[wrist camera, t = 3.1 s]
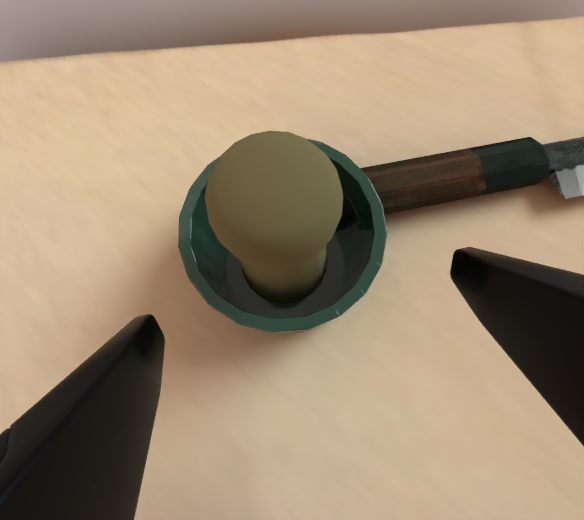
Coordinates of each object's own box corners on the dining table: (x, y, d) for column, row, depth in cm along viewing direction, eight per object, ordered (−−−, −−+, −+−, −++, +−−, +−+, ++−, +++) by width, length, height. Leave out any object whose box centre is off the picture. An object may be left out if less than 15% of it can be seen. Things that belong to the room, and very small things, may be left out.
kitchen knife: (312, 245, 18) (295, 176, 20) (309, 254, 21) (295, 191, 22) (805, 147, 20) (763, 89, 22) (757, 164, 22) (721, 111, 24)
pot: (311, 366, 19) (318, 377, 14) (172, 275, 20) (135, 256, 15) (391, 226, 21) (421, 195, 16) (261, 154, 23) (254, 105, 18)
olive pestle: (223, 254, 20) (144, 167, 10) (290, 203, 21) (285, 73, 11) (277, 322, 19) (254, 309, 8) (345, 265, 20) (402, 189, 9)
